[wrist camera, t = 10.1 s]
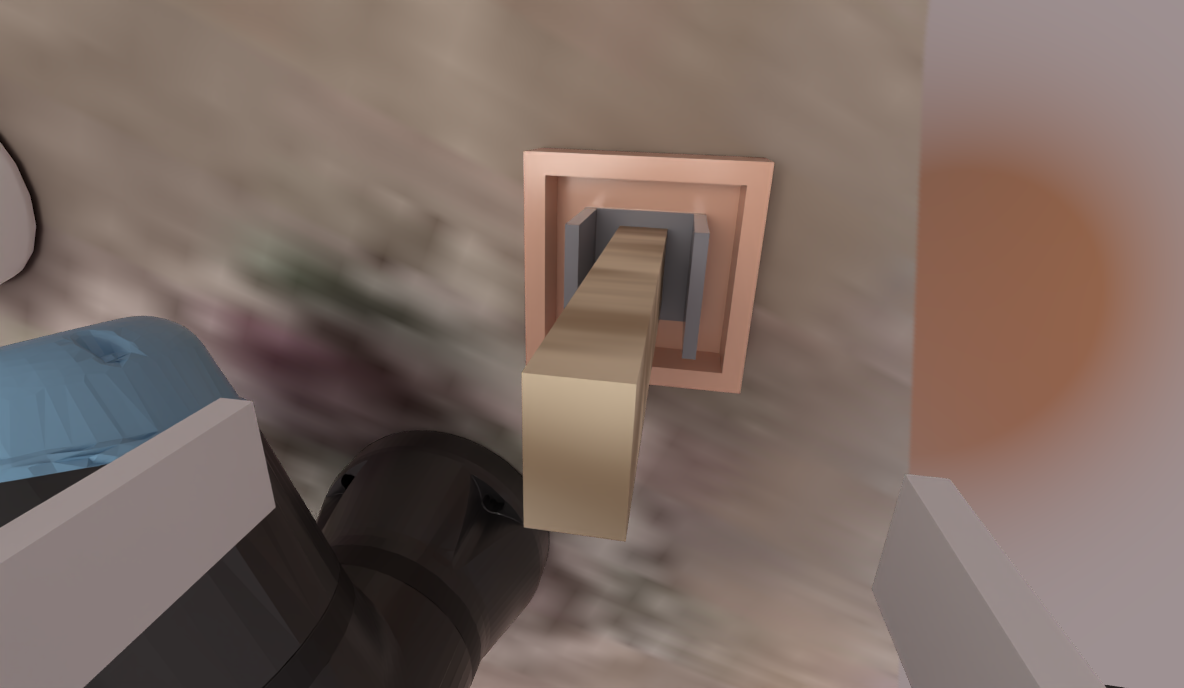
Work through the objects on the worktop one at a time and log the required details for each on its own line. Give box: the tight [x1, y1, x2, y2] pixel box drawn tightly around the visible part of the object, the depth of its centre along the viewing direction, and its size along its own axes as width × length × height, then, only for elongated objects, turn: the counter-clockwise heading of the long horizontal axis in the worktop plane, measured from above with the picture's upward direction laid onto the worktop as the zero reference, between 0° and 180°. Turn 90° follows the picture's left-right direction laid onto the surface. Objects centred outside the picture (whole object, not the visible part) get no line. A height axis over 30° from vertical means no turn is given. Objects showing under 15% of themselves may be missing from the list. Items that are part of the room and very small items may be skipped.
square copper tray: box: [524, 148, 775, 394], centre depth 27 cm, size 11×11×6 cm
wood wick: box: [521, 226, 668, 541], centre depth 20 cm, size 4×2×18 cm, turn 178°
